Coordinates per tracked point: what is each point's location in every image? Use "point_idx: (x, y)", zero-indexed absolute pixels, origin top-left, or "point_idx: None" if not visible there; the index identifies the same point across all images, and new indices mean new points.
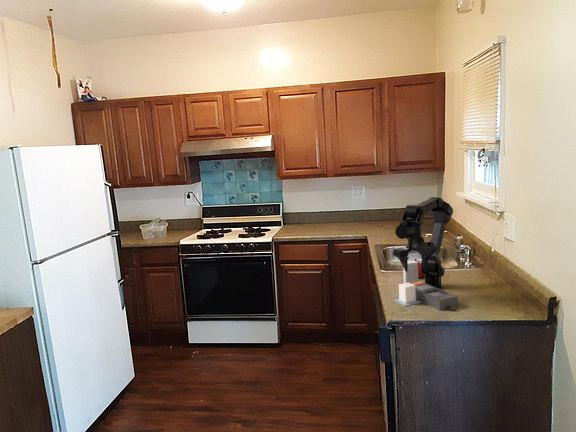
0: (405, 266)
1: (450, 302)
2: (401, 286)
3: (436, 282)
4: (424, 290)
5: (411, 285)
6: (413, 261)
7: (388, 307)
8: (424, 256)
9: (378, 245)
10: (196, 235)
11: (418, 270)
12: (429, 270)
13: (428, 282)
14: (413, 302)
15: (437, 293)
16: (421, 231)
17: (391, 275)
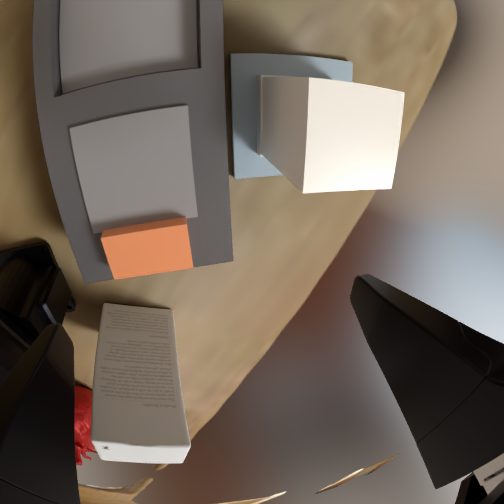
0: (436, 313)
1: None
2: (393, 148)
3: (8, 276)
4: (169, 95)
5: (335, 101)
6: (115, 456)
7: (412, 104)
8: (34, 501)
9: (127, 492)
10: (334, 483)
11: None
12: (17, 347)
13: (50, 289)
14: (281, 70)
15: (88, 44)
16: None
17: None
